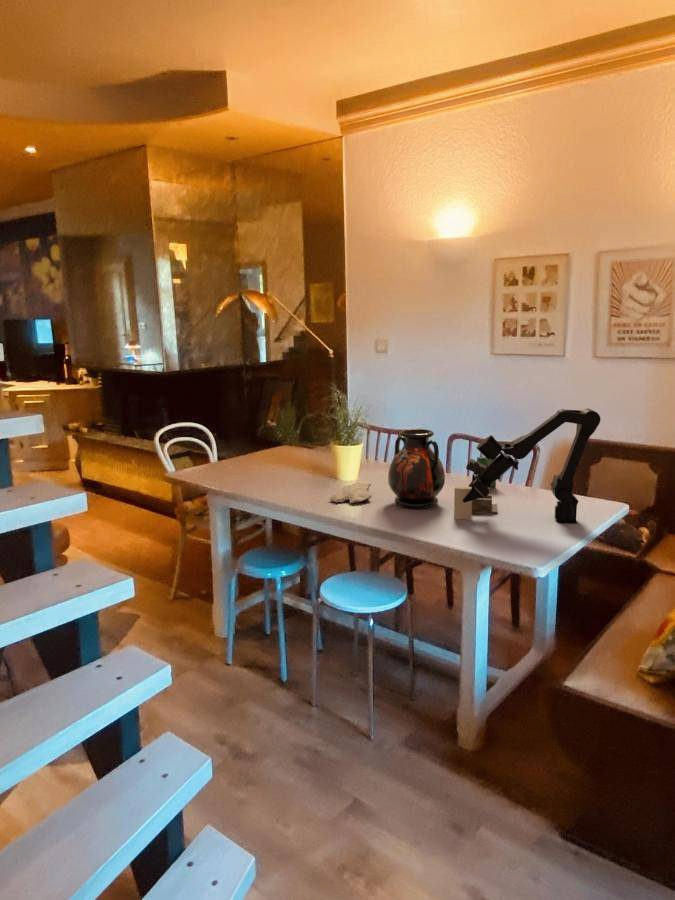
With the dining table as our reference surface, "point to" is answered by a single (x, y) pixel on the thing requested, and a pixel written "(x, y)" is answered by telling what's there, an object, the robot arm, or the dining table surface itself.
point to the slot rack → (484, 505)
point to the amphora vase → (416, 470)
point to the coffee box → (484, 461)
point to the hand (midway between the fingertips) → (463, 498)
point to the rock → (352, 493)
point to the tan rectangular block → (462, 503)
